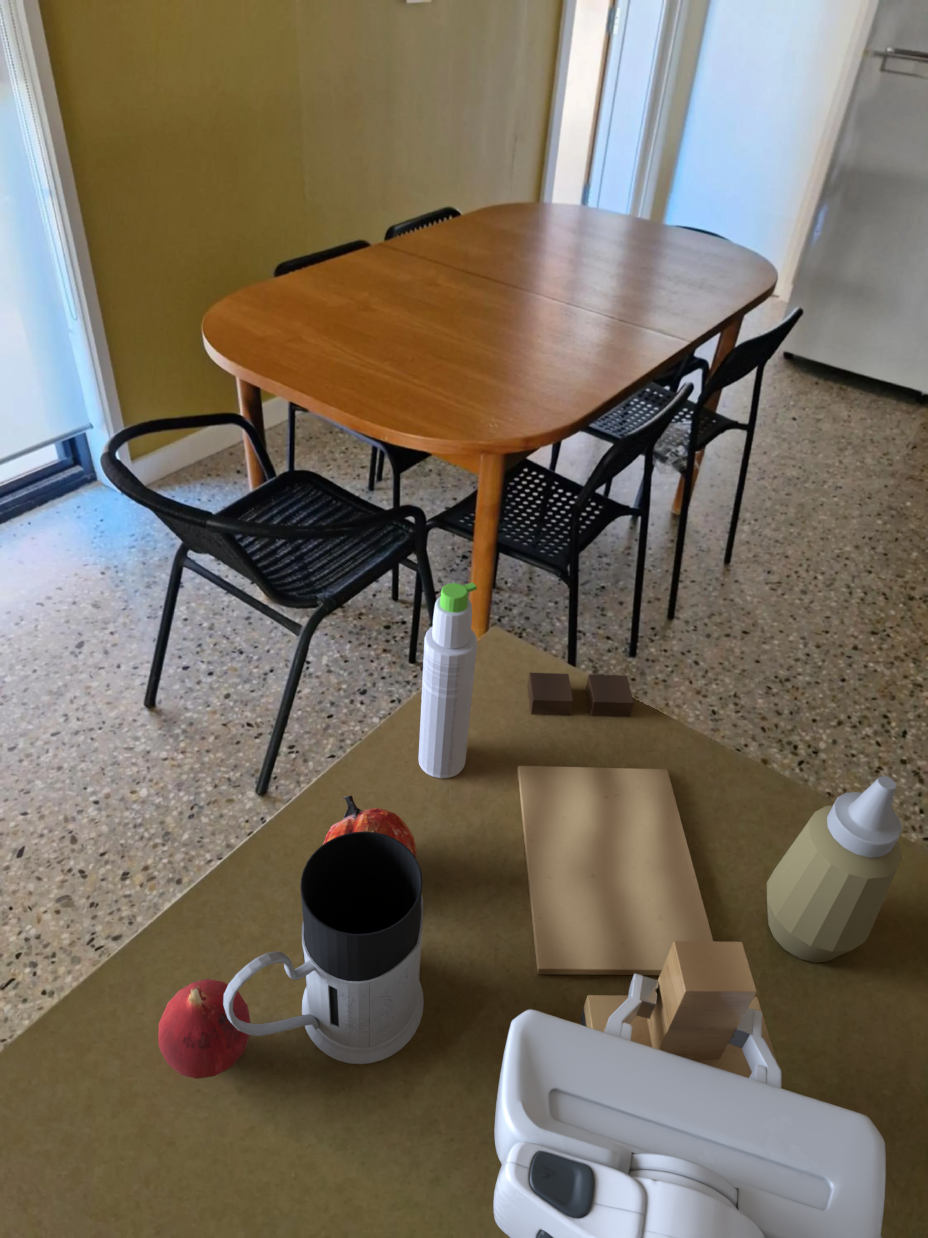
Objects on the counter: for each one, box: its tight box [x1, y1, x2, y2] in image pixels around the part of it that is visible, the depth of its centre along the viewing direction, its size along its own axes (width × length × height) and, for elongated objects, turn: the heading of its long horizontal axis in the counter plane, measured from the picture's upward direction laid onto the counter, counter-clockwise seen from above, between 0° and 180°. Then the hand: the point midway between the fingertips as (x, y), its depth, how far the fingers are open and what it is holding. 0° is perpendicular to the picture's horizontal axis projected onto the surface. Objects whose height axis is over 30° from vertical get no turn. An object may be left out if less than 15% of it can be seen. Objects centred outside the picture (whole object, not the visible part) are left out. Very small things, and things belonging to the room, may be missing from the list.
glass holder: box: [223, 831, 425, 1065], centre depth 58 cm, size 9×14×15 cm, turn 131°
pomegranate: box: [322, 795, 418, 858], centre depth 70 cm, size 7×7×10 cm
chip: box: [526, 672, 574, 716], centre depth 89 cm, size 4×4×2 cm
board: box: [517, 765, 715, 976], centre depth 75 cm, size 14×20×1 cm
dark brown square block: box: [585, 673, 635, 718], centre depth 90 cm, size 4×4×2 cm
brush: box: [579, 941, 777, 1078], centre depth 53 cm, size 11×5×11 cm, turn 92°
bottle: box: [418, 581, 478, 779], centre depth 76 cm, size 4×4×20 cm
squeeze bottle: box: [766, 775, 903, 963], centre depth 66 cm, size 8×8×18 cm
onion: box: [157, 978, 252, 1080], centre depth 58 cm, size 6×6×8 cm
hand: (693, 996), depth 53 cm, fingers closed on brush, 5 cm apart
